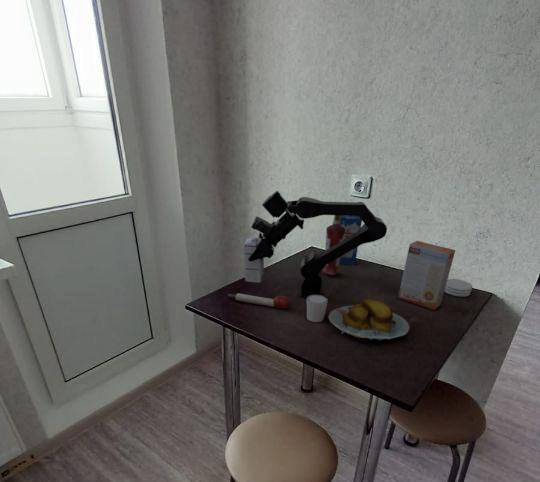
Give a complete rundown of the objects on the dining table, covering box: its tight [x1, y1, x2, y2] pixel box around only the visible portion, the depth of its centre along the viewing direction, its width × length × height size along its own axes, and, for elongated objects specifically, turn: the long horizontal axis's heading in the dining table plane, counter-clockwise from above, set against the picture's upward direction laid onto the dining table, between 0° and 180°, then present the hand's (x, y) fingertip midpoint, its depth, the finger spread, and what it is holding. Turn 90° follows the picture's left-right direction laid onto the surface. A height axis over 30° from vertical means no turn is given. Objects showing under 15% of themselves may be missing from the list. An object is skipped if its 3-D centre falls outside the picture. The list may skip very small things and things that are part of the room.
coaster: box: [444, 278, 473, 298], centre depth 155 cm, size 10×10×4 cm
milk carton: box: [339, 216, 363, 266], centre depth 175 cm, size 10×6×20 cm, turn 81°
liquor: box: [322, 215, 345, 277], centre depth 160 cm, size 7×7×28 cm
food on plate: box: [327, 298, 411, 341], centre depth 128 cm, size 25×25×7 cm
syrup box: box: [243, 237, 265, 283], centre depth 143 cm, size 6×6×14 cm
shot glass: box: [306, 294, 329, 323], centre depth 132 cm, size 7×7×7 cm
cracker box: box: [397, 240, 456, 311], centre depth 142 cm, size 14×6×21 cm, turn 47°
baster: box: [228, 292, 291, 310], centre depth 140 cm, size 22×4×4 cm, turn 73°
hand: (250, 257), depth 143 cm, fingers closed on syrup box, 6 cm apart
